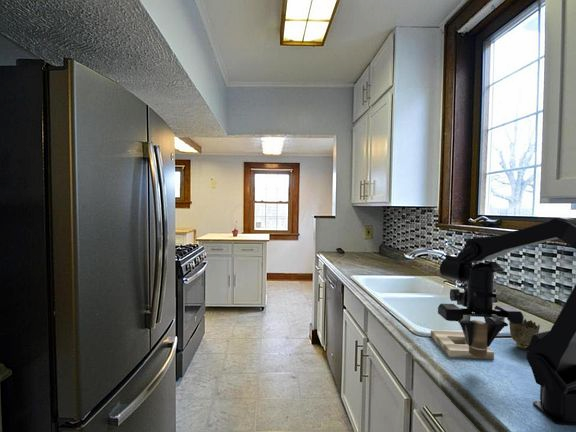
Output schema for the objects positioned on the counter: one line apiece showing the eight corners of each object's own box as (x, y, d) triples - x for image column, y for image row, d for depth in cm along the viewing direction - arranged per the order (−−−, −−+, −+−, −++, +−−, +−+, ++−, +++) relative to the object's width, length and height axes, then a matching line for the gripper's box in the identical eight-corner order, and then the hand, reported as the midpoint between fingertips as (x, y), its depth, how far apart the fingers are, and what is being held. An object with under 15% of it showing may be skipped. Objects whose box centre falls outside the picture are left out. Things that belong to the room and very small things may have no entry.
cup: (544, 355, 90) (545, 328, 89) (515, 352, 91) (516, 325, 91) (529, 343, 97) (530, 318, 97) (503, 341, 98) (504, 316, 98)
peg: (490, 357, 78) (491, 326, 78) (473, 357, 79) (474, 326, 78) (481, 350, 82) (482, 320, 82) (465, 349, 83) (466, 319, 82)
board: (493, 359, 87) (494, 352, 87) (449, 357, 88) (449, 350, 88) (468, 337, 101) (468, 331, 101) (430, 336, 102) (430, 330, 102)
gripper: (498, 279, 87) (496, 334, 88) (430, 277, 89) (429, 331, 89) (526, 290, 76) (523, 353, 77) (448, 288, 77) (446, 349, 78)
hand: (477, 345), depth 80 cm, fingers closed on peg, 4 cm apart
